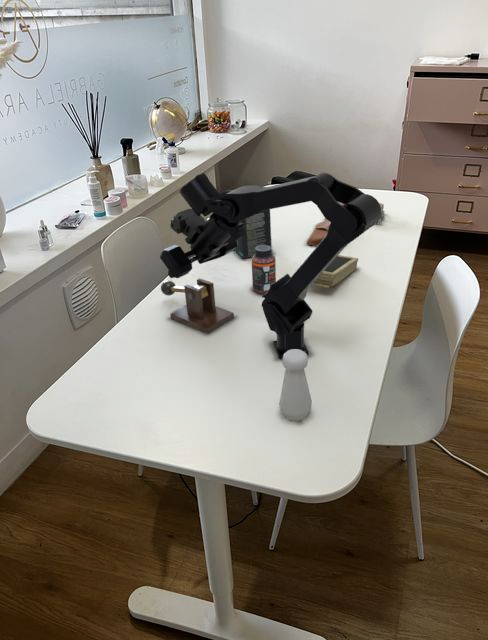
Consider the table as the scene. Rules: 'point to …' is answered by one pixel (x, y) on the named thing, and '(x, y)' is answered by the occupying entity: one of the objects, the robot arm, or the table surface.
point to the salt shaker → (295, 386)
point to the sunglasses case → (319, 233)
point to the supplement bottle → (263, 269)
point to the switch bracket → (201, 309)
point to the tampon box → (255, 234)
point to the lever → (180, 289)
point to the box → (336, 271)
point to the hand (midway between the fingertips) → (184, 269)
